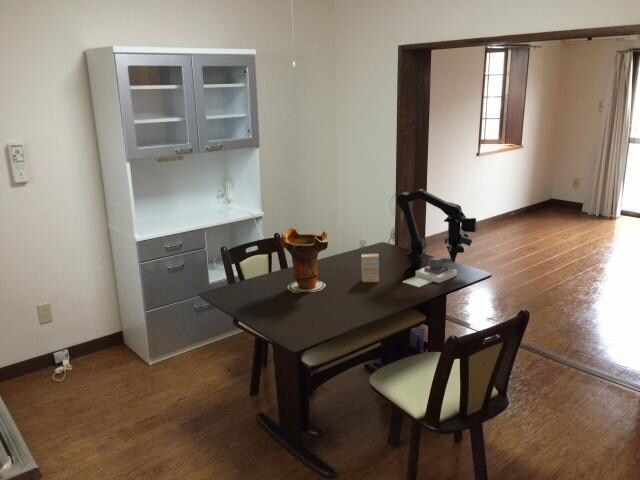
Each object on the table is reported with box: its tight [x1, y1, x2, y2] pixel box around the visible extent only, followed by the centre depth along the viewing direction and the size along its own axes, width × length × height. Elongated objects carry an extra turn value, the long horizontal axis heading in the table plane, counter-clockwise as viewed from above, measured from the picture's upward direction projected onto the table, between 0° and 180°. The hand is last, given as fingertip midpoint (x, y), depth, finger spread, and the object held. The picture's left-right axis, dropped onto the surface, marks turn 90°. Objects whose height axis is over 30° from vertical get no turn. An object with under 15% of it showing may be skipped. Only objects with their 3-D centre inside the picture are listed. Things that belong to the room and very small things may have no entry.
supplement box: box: [360, 253, 380, 283], centre depth 258 cm, size 8×5×13 cm, turn 84°
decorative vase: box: [279, 226, 329, 294], centre depth 253 cm, size 21×23×28 cm
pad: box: [401, 276, 434, 289], centre depth 255 cm, size 10×10×1 cm
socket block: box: [414, 265, 458, 284], centre depth 262 cm, size 14×14×3 cm
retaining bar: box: [427, 257, 456, 266], centre depth 267 cm, size 13×2×4 cm, turn 85°
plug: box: [423, 256, 449, 274], centre depth 261 cm, size 8×8×9 cm
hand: (453, 261), depth 265 cm, fingers closed
